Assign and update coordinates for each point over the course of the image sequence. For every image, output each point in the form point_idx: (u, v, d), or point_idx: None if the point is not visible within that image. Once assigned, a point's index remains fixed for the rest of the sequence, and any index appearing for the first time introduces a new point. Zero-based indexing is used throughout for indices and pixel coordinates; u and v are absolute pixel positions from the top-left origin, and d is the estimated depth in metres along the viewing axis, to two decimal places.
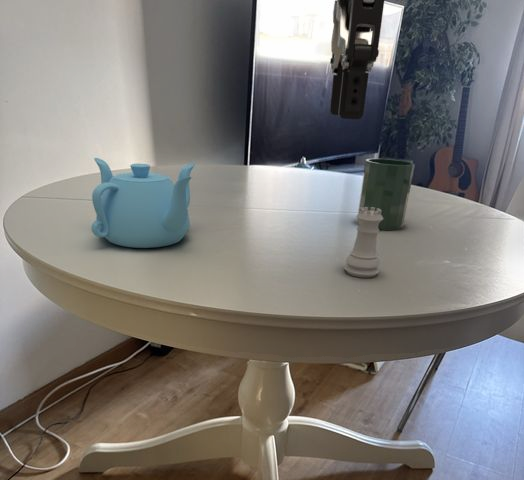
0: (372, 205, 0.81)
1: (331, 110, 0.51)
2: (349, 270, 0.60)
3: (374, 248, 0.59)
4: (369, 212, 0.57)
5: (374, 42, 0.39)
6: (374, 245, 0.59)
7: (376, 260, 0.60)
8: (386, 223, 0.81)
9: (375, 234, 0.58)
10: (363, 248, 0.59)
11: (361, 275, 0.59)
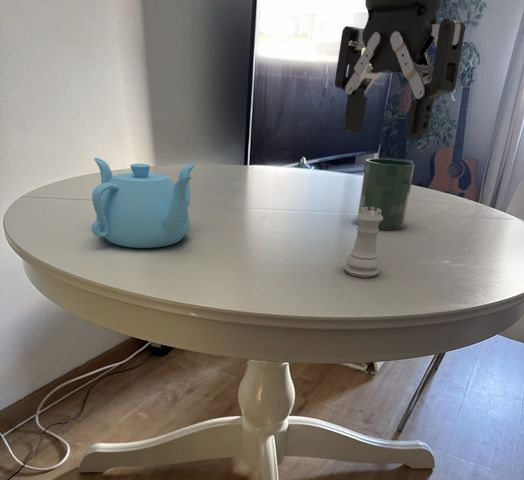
0: (372, 205, 0.81)
1: (350, 128, 0.56)
2: (349, 270, 0.60)
3: (374, 248, 0.59)
4: (369, 212, 0.57)
5: (454, 78, 0.47)
6: (374, 245, 0.59)
7: (376, 260, 0.60)
8: (386, 223, 0.81)
9: (375, 234, 0.58)
10: (363, 248, 0.59)
11: (361, 275, 0.59)
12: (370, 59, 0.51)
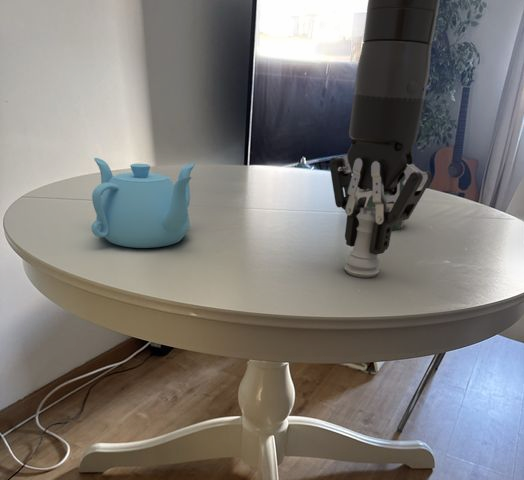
0: (372, 205, 0.81)
1: (350, 243, 0.60)
2: (349, 270, 0.60)
3: None
4: (369, 212, 0.57)
5: (410, 212, 0.54)
6: None
7: (376, 260, 0.60)
8: None
9: None
10: (364, 248, 0.59)
11: (361, 275, 0.59)
12: None
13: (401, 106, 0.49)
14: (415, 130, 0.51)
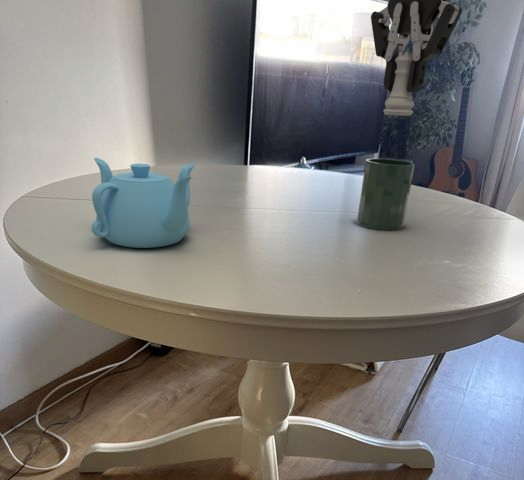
0: (372, 205, 0.81)
1: (389, 88, 0.71)
2: (388, 110, 0.71)
3: None
4: (407, 53, 0.67)
5: (442, 47, 0.65)
6: None
7: (411, 100, 0.70)
8: (386, 223, 0.81)
9: None
10: (401, 88, 0.69)
11: (399, 113, 0.70)
12: (394, 24, 0.67)
13: None
14: None
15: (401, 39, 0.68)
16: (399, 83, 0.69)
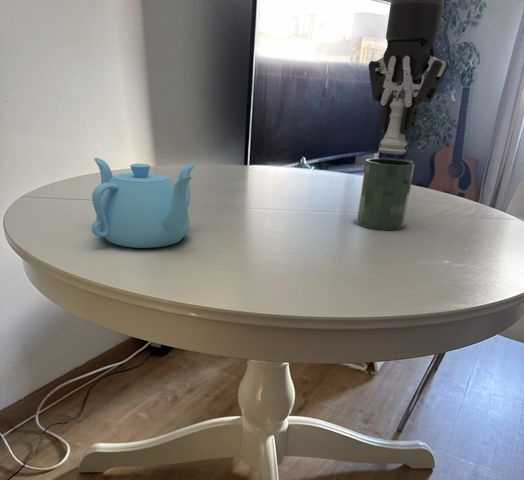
0: (372, 205, 0.81)
1: (384, 129, 0.78)
2: (383, 149, 0.78)
3: None
4: (400, 99, 0.75)
5: (432, 96, 0.73)
6: None
7: (404, 140, 0.78)
8: (386, 223, 0.81)
9: None
10: (395, 130, 0.77)
11: (393, 152, 0.78)
12: (389, 73, 0.75)
13: (427, 9, 0.67)
14: (436, 30, 0.69)
15: (395, 86, 0.76)
16: (393, 125, 0.77)
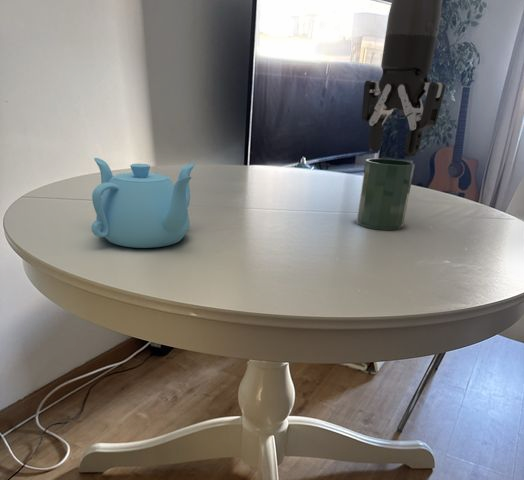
0: (372, 205, 0.81)
1: (372, 148, 0.81)
2: None
3: None
4: None
5: (436, 118, 0.73)
6: None
7: None
8: (386, 223, 0.81)
9: None
10: None
11: None
12: (384, 100, 0.76)
13: (421, 41, 0.69)
14: (430, 60, 0.71)
15: (385, 111, 0.78)
16: None
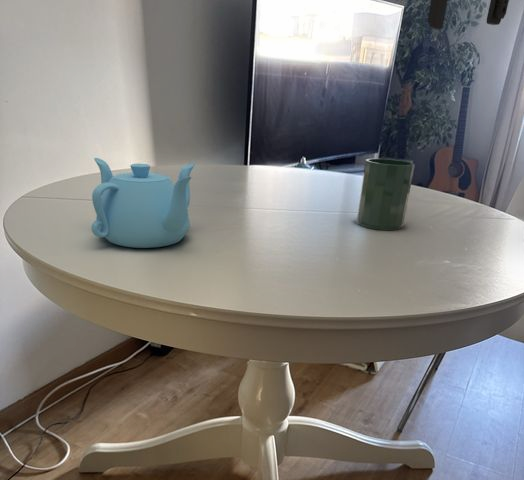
0: (372, 205, 0.81)
1: (434, 24, 0.66)
2: None
3: None
4: None
5: None
6: None
7: None
8: (386, 223, 0.81)
9: None
10: None
11: None
12: None
13: None
14: None
15: None
16: None
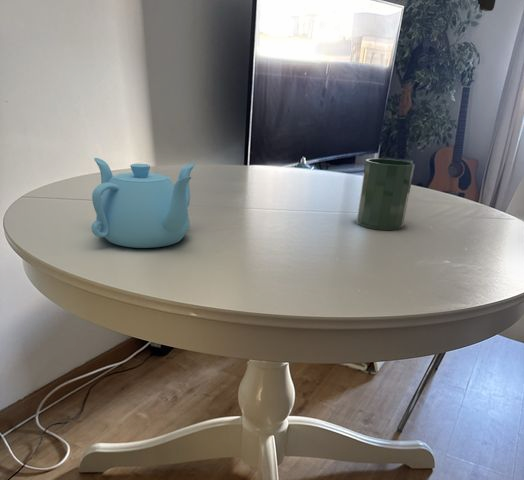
0: (372, 205, 0.81)
1: (485, 4, 0.58)
2: None
3: None
4: None
5: None
6: None
7: None
8: (386, 223, 0.81)
9: None
10: None
11: None
12: None
13: None
14: None
15: None
16: None
